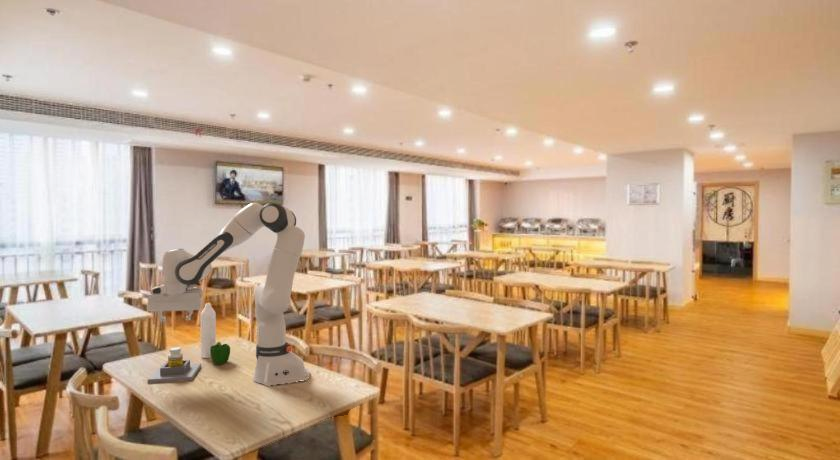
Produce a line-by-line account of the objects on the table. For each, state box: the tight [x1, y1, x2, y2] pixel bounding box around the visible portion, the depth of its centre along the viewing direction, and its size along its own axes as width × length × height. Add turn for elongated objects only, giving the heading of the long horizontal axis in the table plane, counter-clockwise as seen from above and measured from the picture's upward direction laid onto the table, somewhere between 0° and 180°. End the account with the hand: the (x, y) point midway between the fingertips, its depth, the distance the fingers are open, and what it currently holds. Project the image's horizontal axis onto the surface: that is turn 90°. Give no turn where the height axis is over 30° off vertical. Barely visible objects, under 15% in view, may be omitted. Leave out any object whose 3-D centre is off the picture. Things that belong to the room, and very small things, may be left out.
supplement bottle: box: [167, 346, 184, 367], centre depth 193 cm, size 5×5×10 cm
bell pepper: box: [210, 341, 231, 366], centre depth 208 cm, size 8×8×10 cm
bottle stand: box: [147, 359, 202, 384], centre depth 194 cm, size 16×16×4 cm
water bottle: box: [199, 302, 217, 359], centre depth 216 cm, size 9×6×25 cm
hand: (175, 321), depth 193 cm, fingers open, 8 cm apart
